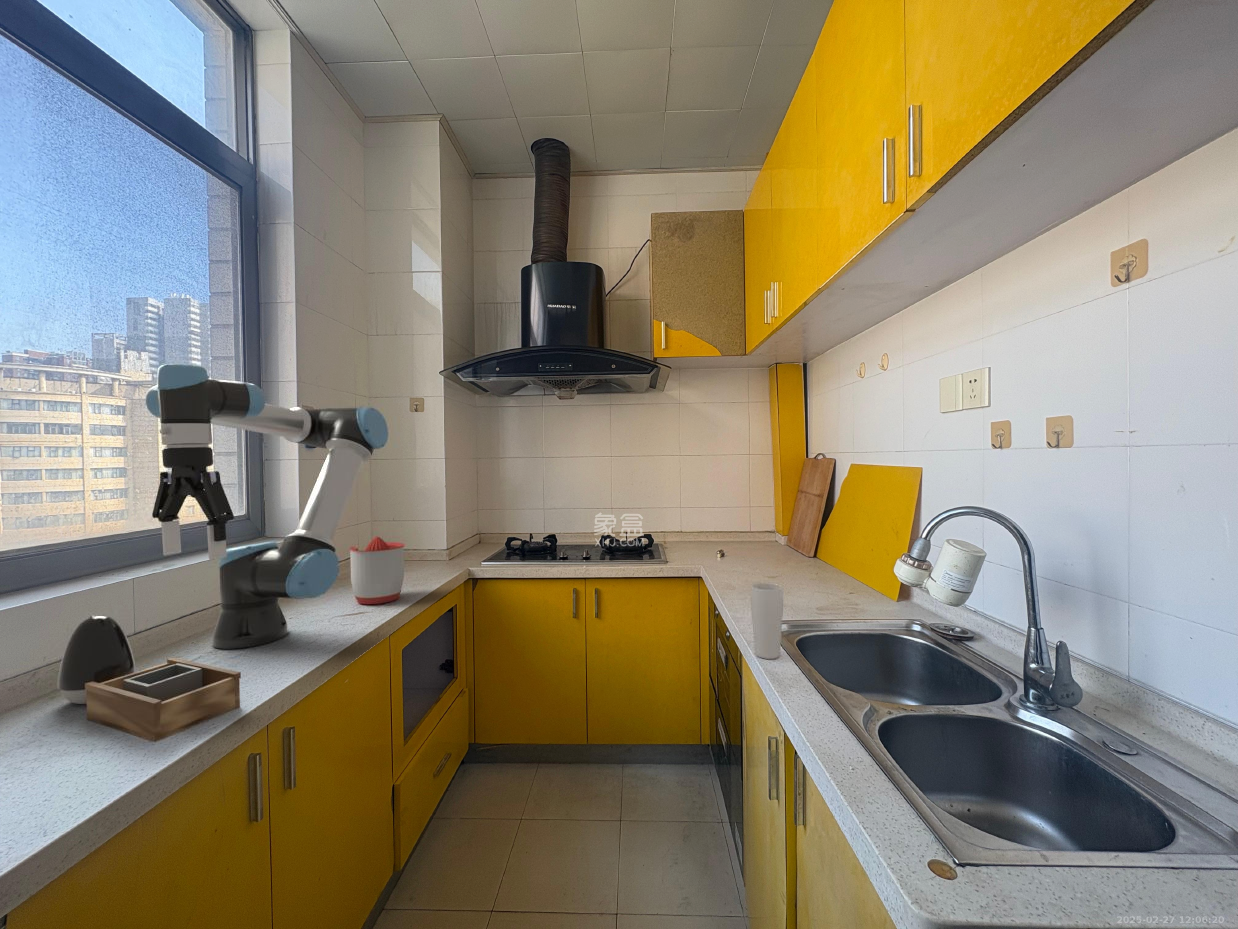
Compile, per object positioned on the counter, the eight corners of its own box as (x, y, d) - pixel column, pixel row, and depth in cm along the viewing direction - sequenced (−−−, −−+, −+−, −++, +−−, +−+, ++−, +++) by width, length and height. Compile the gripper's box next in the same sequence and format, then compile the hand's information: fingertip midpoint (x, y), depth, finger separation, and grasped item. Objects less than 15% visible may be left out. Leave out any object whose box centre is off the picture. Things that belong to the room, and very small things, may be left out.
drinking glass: (774, 664, 110) (774, 591, 110) (745, 656, 114) (744, 586, 114) (789, 655, 115) (788, 585, 115) (760, 647, 119) (759, 581, 119)
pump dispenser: (130, 681, 105) (128, 605, 105) (140, 695, 99) (138, 614, 99) (55, 700, 97) (53, 617, 97) (61, 716, 91) (59, 628, 91)
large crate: (173, 689, 101) (173, 657, 101) (241, 706, 94) (240, 672, 94) (85, 719, 90) (84, 683, 90) (154, 742, 82) (153, 703, 82)
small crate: (178, 696, 96) (178, 663, 96) (202, 702, 94) (201, 668, 94) (123, 715, 89) (123, 680, 89) (148, 723, 86) (147, 686, 86)
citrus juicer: (377, 591, 176) (376, 531, 176) (416, 596, 169) (415, 534, 169) (334, 603, 162) (333, 538, 162) (375, 609, 155) (374, 541, 154)
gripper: (124, 447, 103) (132, 556, 104) (209, 446, 94) (216, 564, 95) (169, 446, 110) (175, 548, 111) (251, 445, 101) (258, 555, 102)
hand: (194, 556), depth 103 cm, fingers open, 13 cm apart
